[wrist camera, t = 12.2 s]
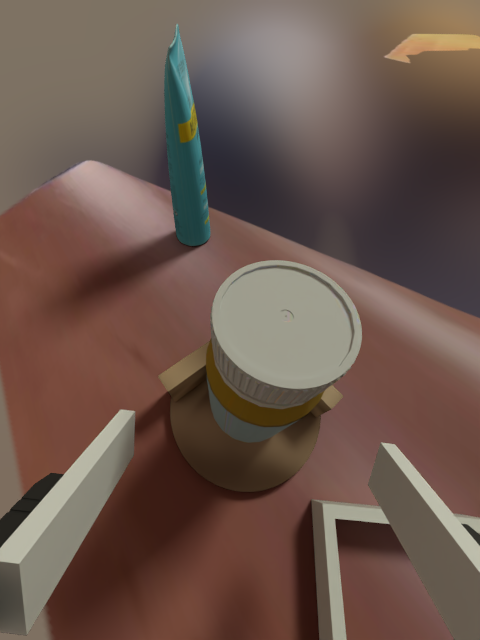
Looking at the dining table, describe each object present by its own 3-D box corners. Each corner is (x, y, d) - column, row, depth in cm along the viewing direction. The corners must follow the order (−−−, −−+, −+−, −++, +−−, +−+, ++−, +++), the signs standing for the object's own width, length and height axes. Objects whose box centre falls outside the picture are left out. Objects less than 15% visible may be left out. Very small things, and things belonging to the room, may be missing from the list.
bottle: (262, 461, 20) (337, 449, 7) (195, 412, 22) (161, 331, 9) (297, 391, 23) (392, 299, 11) (237, 353, 25) (257, 233, 12)
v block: (332, 500, 20) (359, 507, 16) (145, 481, 19) (127, 484, 16) (317, 342, 27) (333, 323, 23) (183, 327, 27) (177, 305, 23)
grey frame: (462, 514, 20) (492, 520, 18) (556, 808, 13) (621, 874, 11) (311, 499, 19) (322, 503, 17) (327, 790, 13) (349, 854, 11)
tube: (212, 252, 34) (205, 47, 17) (177, 253, 33) (134, 43, 17) (208, 218, 37) (199, 24, 21) (176, 219, 37) (141, 20, 20)
